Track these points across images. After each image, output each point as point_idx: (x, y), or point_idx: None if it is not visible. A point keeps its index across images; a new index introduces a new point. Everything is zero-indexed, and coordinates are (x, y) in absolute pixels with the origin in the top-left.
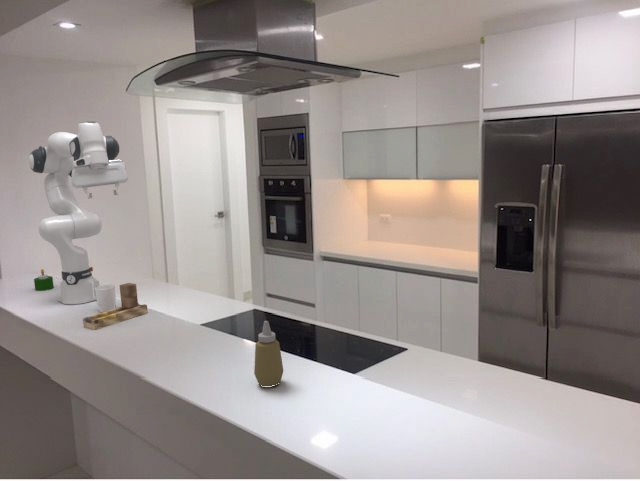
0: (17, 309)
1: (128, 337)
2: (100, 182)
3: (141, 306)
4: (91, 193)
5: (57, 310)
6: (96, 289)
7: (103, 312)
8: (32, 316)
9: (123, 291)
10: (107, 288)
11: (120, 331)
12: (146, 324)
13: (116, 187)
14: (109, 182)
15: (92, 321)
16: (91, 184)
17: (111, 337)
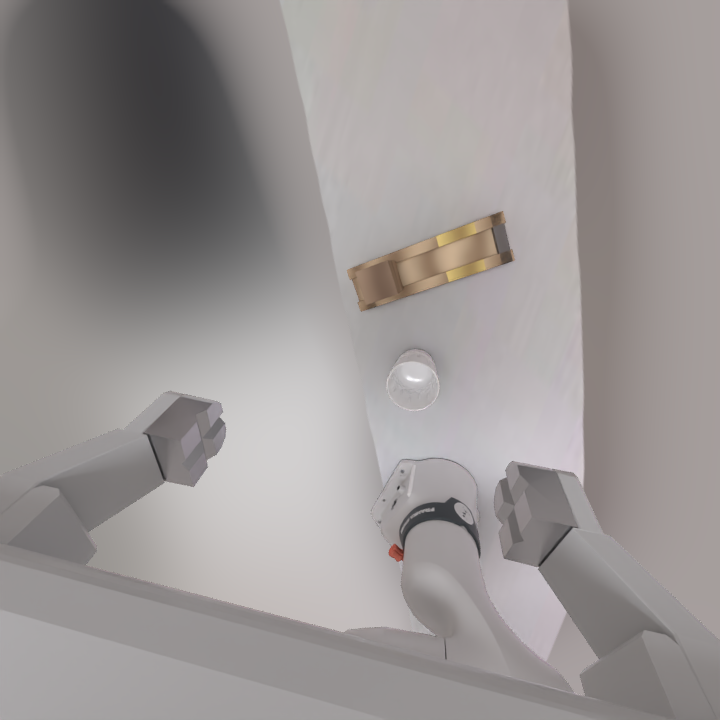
0: None
1: (457, 82)
2: (308, 670)
3: (361, 264)
4: (532, 509)
5: (505, 449)
6: (438, 379)
7: (454, 277)
8: (568, 444)
9: (394, 276)
10: (401, 401)
11: (453, 154)
12: (384, 170)
13: (97, 454)
14: (98, 575)
15: (503, 217)
16: (579, 707)
17: (489, 115)
